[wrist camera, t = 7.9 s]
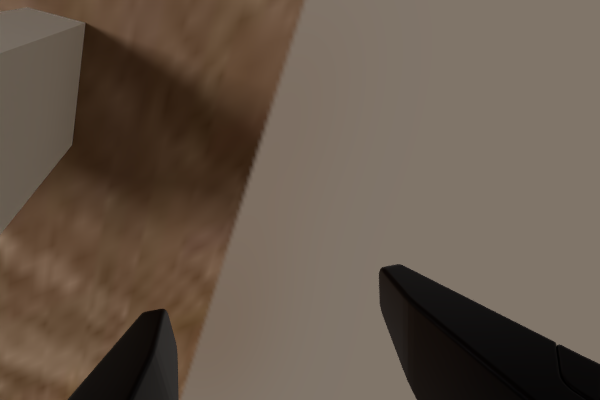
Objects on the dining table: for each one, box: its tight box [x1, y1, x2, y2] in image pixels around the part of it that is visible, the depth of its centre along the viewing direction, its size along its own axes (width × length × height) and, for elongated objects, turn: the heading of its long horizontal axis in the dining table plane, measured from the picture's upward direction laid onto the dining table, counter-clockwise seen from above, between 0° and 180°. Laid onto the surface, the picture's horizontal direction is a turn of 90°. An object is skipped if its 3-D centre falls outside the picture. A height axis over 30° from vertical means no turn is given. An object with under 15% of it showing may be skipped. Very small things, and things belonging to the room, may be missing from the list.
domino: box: [0, 8, 85, 234], centre depth 14 cm, size 2×5×10 cm, turn 164°
